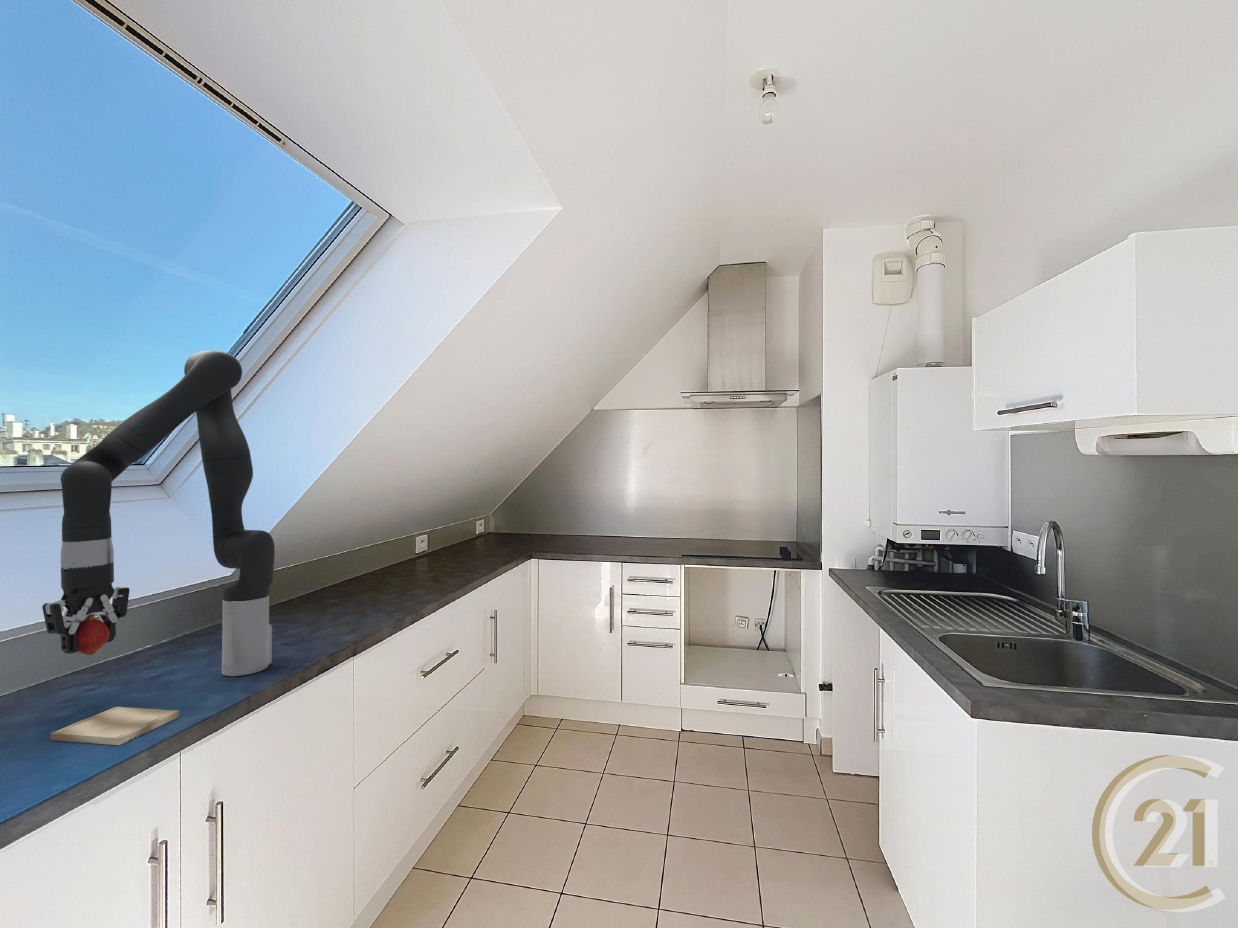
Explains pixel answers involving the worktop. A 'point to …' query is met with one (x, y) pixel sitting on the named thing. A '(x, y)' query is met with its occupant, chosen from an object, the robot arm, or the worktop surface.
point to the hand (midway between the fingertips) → (89, 646)
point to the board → (115, 725)
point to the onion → (91, 635)
